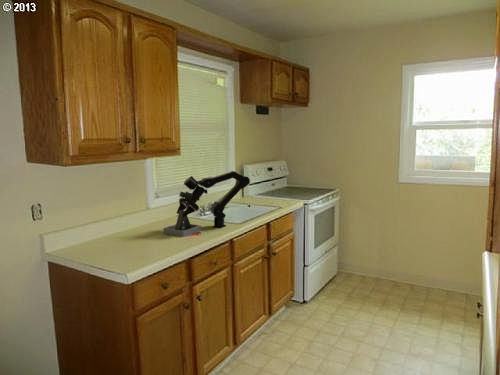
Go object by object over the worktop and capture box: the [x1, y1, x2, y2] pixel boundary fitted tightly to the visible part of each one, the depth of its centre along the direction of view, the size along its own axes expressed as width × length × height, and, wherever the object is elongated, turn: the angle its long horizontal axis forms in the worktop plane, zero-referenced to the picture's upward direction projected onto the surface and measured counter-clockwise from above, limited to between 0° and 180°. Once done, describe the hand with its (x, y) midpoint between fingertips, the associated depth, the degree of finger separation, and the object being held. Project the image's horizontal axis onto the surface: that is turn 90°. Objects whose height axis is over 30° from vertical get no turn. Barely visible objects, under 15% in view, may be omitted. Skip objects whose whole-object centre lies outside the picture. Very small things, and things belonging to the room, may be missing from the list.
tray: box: [162, 222, 202, 237], centre depth 223 cm, size 16×16×3 cm
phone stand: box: [175, 210, 192, 231], centre depth 222 cm, size 9×6×12 cm, turn 125°
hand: (179, 214), depth 221 cm, fingers open, 9 cm apart
